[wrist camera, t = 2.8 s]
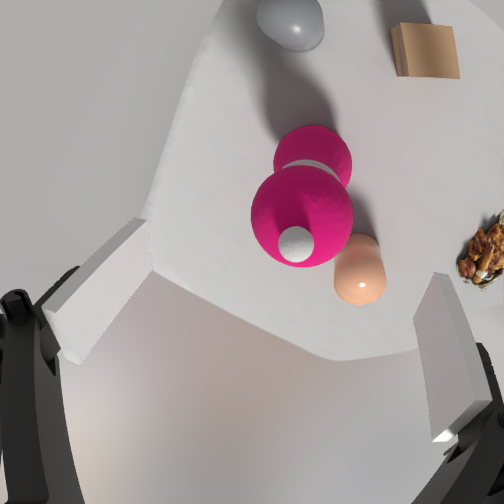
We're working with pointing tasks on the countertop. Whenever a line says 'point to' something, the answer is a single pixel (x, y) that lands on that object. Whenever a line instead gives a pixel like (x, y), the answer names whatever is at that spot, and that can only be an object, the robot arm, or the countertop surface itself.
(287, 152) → the pepper mill
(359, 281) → the peach rounded cylinder
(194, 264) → the countertop surface
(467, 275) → the brown lumpy mound
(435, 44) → the tan block
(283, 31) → the grey cylinder
